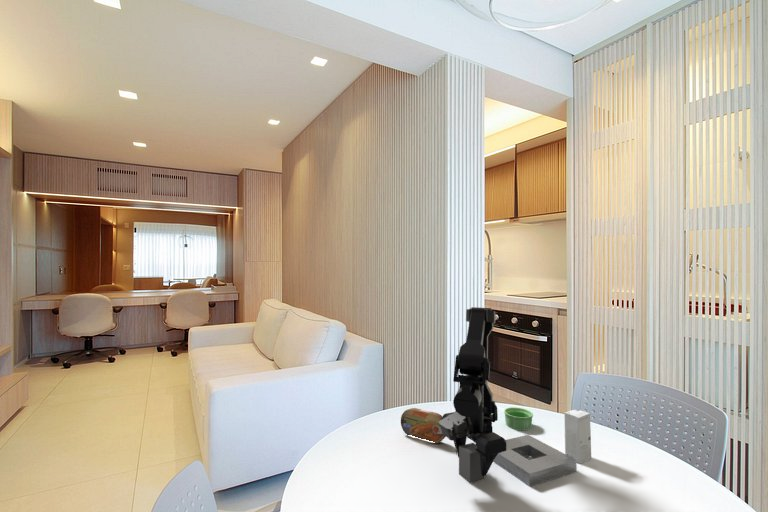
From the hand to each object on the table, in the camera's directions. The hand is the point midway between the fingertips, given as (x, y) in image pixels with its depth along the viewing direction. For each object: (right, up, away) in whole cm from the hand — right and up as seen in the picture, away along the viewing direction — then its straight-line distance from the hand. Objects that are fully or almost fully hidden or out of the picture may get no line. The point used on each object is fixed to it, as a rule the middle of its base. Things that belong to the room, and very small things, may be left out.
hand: (471, 466), depth 92 cm
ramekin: (+23, -4, +31) cm, 39 cm away
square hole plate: (+17, -3, +6) cm, 18 cm away
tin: (-10, -4, +21) cm, 23 cm away
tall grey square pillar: (0, -3, 0) cm, 2 cm away
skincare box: (+32, -4, +10) cm, 33 cm away
